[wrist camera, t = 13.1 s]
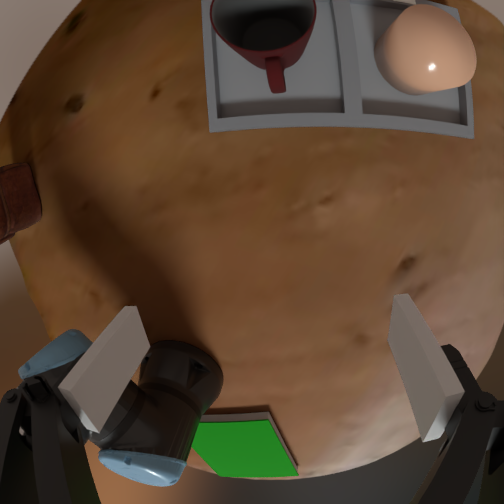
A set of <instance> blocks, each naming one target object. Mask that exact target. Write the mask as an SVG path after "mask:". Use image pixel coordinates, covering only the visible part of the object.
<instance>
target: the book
mask: <svg viewBox="0 0 504 504" xmlns="http://www.w3.org/2000/svg"><path fill="white" fill-rule="evenodd" d="M191 447H192V448H193V449H194V450H195V451H196V452H197V453H198V454H199V455H200V456H201V457H202V458H203V460H204V461H205V462H206V463H207V464H208V465H209V466H210V467H211V468H212V469H213V470H214V471H215V472H216V473H217V474H218V475H219V476H225V477H285V476H299V474H298V473H297V469H298V468H297V466H296V464H295V462H294V460H293V458H292V456H291V454H290V452H289V451H288V449H287V447H286V445H285V443H284V441H283V439H282V437H281V435H280V433H279V431H278V429H277V427H276V425H275V423H274V421H273V419H272V417H271V415H270V413H269V412H259V413H244V414H224V415H202V417H201V419H200V422H199V426H198V428H197V431H196V434H195V437H194V440H193V443H192V446H191Z"/></svg>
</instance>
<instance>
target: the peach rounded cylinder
mask: <svg viewBox="0 0 504 504" xmlns="http://www.w3.org/2000/svg"><path fill="white" fill-rule="evenodd" d="M374 58H375V62H376V66H377V68H378V70H379V72H380V74H381V75H382V76H383V78H384V79H385V80H386V81H387V82H388V83H389V84H390V85H391V86H392V87H394V88H395V89H397V90H398V91H400V92H402V93H405V94H408V95H415V96H417V95H424V94H428V93H432V92H437V91H441V90H446V89H450V88H455V87H460V86H462V85H464V84H466V83H467V82H468V81H470V79H471V78H472V77H473V75H474V73H475V69H476V52H475V48H474V45H473V42H472V40H471V38H470V36H469V35H468V33H467V31H466V30H465V29H464V27H463V26H462V25H461V24H460V23H459V22H458V21H457V20H456V19H455V18H454V17H453V16H452V15H450V14H449V13H447V12H446V11H444V10H442V9H440V8H438V7H435V6H432V5H427V4H417V5H413V6H410V7H408V8H407V9H405V10H404V11H403V12H402V13H401V14H400V15H399V16H398V17H397V19H396V20H395V21H394V22H393V23H392V24H391V25H390V26H389V27H388V28H387V29H386V30H385V32H384V33H383V34H382V35H381V36H380V37H379V38H378V40H377V42H376V44H375V48H374Z"/></svg>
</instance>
